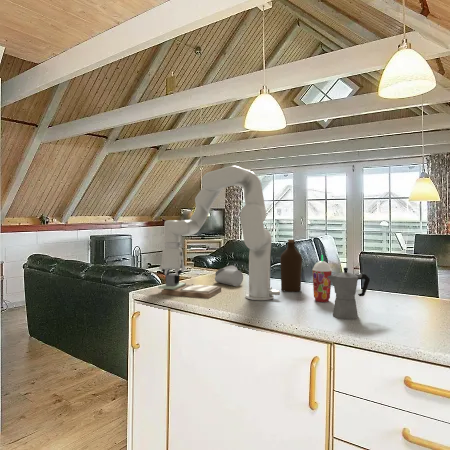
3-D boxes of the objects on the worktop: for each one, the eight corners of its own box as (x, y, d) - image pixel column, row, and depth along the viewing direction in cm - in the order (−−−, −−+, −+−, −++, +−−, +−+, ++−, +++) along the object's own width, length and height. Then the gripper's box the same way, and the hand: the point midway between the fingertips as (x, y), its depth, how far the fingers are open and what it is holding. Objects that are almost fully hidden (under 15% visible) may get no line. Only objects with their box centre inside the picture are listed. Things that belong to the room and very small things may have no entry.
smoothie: (331, 299, 165) (332, 254, 164) (331, 303, 157) (332, 256, 156) (312, 298, 167) (312, 253, 167) (311, 302, 159) (311, 255, 158)
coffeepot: (330, 319, 133) (331, 269, 132) (323, 312, 142) (324, 265, 142) (374, 319, 133) (374, 269, 132) (364, 312, 142) (365, 265, 142)
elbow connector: (204, 280, 206) (228, 285, 191) (207, 261, 207) (231, 264, 192) (228, 283, 217) (252, 288, 202) (231, 265, 218) (255, 269, 203)
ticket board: (221, 291, 182) (221, 285, 182) (209, 298, 167) (209, 291, 167) (176, 287, 190) (176, 282, 190) (161, 294, 175) (161, 288, 174)
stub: (185, 284, 186) (185, 273, 186) (174, 289, 174) (174, 277, 174) (170, 283, 189) (170, 272, 189) (158, 288, 177) (158, 276, 177)
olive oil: (286, 293, 178) (286, 240, 177) (276, 288, 188) (276, 239, 187) (305, 291, 181) (306, 240, 180) (295, 287, 191) (295, 238, 190)
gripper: (191, 245, 182) (191, 282, 182) (160, 244, 187) (160, 280, 188) (184, 246, 175) (184, 285, 175) (153, 245, 180) (153, 283, 181)
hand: (172, 282), depth 182 cm, fingers closed on stub, 4 cm apart
